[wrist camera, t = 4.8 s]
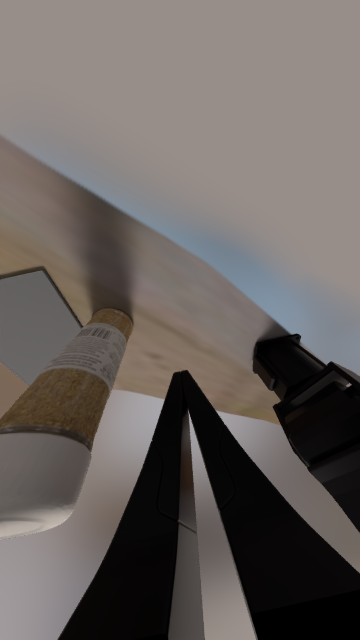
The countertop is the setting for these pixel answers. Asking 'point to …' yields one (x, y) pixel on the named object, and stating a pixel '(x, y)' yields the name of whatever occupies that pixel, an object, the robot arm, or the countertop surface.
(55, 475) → the sprinkles bottle
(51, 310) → the mat
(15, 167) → the countertop surface
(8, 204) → the countertop surface
